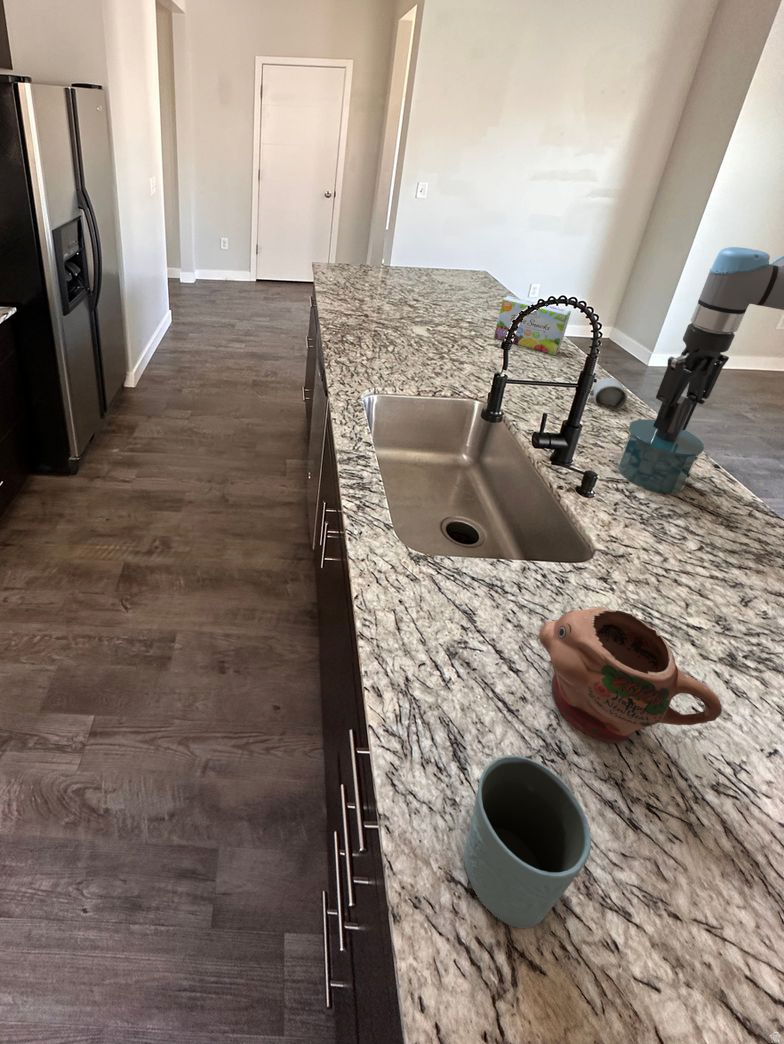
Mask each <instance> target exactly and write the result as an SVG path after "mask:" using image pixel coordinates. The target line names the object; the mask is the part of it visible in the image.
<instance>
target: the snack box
mask: <svg viewBox="0 0 784 1044" xmlns="http://www.w3.org/2000/svg"><path fill="white" fill-rule="evenodd" d="M534 303H537V302H535V301H531V300H527V299H523V298H519V297H515V296H510V295H506V296H505V297H504V298H502V301H501V305H500V310H499V314H498V319H497V323H496V327H495V330H494V331H495V332H494V335H493V338H494V339H498V340H501V341H504V339H505V337H506V335H507V332H508V330H509V328H510V325H511V322H512V321H513V320H514V319H515V318H516V316H517V315H518V314H519V313H520V312H521V311H522V310H524V309H525V308H526V307H528V306H530V305H532V304H534ZM571 312H572V311H571V310H568V309H565V308H562V307H561V308H560V307H556V306H552V305H548V306H547V307H544V308H541V309H538V310H536V311H534V312H533V313H531V314H529V315H527V316H526V317H525V318H524V319H523V320H522V322H521V323H520V325H519V327H518V329H517V332H516V334H515V338H514V341H513V343H512V344H515V345H519V346H522V347H525V348H529V349H532V350H535V351H538V352H542V353H545V354H550V355H552V356H556V355H557V354H558V353H559V352H560V350H561V347H562V344H563V340H564V337H565V333H566V330H567V326H568V323H569V320H570V318H571Z"/></svg>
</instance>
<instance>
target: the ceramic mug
mask: <svg viewBox="0 0 784 1044" xmlns="http://www.w3.org/2000/svg"><path fill="white" fill-rule="evenodd" d="M590 395H593V396H588V397H589V399H588V401H587V402H589V403H595V406H599V403H602V404H604V405H607V406H611V407H616V410H621V409H623V408H624V407H625V406H626V405H627V402H628V394H627V391H626V390H625V388H624V386H623V384H622V383H621V382H620V381H619V380H618V379H616V378H613V377H603V378H600V379H598V380H597V381H596V382H595V384H594V385H593V388H592V391H591V394H590ZM598 402H599V403H598Z"/></svg>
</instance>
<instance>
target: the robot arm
mask: <svg viewBox="0 0 784 1044" xmlns="http://www.w3.org/2000/svg"><path fill="white" fill-rule="evenodd" d="M770 259H771V257H770V254H769V253H768V252H765V251H762V250H758V249H752V248H748V247H739V246H729V247H724V248H722V249H721V250H720V251H719V252H718V254H717V255H716V257H715V259H714V261H713V264H712V266H711V268H709V272H708V275H707V278H706V279H705V283H704V285H703V287H702V290H701V293H700V295H699V297H698V299H697V304H696V305H695V308H694V311H693V313H692V315H691V318H690V323H689V324H688V325H687V327H686V330H685V331H684V334H683V337H682V341H683V343H684V344H685V347H684V348H683V350H682V352H681V353H680V355H679V356H677V357H673V356H669V357H668V358H667V366H666V369H665V372H664V374H663V377H662V379H661V382H660V385H659V388H658V390H657V393H656V395H655V399H656V400H658V401H659V402H661V404H660V407H659V410H658V413H657V416H656V418H655V423H654V425H653V427H655V428H657V429H658V430H660V431H662V432H663V433H667V432H668V429H669V427H670V425H671V422H672V420H673V418H674V415H675V413H676V411H677V408H678V406H677V405H676V403H677V402H678V400H679V398H680V397H681V396H682V395H683V394H684V392H685V390H686V388H687V391H686V396H685V397H686V398H688V399H690V400H692V401H693V403H694V404H693V406H692V409H691V411H690V413H689V415H688V418H687V420H686V422H685V425H684V427H683V429H682V430H686V429H687V428H688V425H689V422H690V420H691V418H692V416H693V414H694V412H695V410H696V407H697V405H698V404H699V405H704V404H705V402H706V400H707V399H709V397H710V396H711V393H712V391H713V389H714V387H715V385H716V384H717V380H718V378H719V376H720V374H721V372H722V370H723V368H724V366H725V365H726V364H727V362H728V361H729V359H730V357H729V356H727V355H725V354H722V353H726V352H728V351H729V349H730V347H731V345H732V344H733V341H734V338H735V336H736V335H735V333H736V332H738V330H739V328H740V326H741V323H742V321H743V319H744V317H745V314H746V312H747V310H748V307H749V306H750V305H753V306H754V305H755V306H759V307H764V308H765V307H766V308H770V309H775V310H776V309H777V310H781V311H784V254H783V255H779V256H778V257H776V258H775V259H772V261H771V262H770Z"/></svg>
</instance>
